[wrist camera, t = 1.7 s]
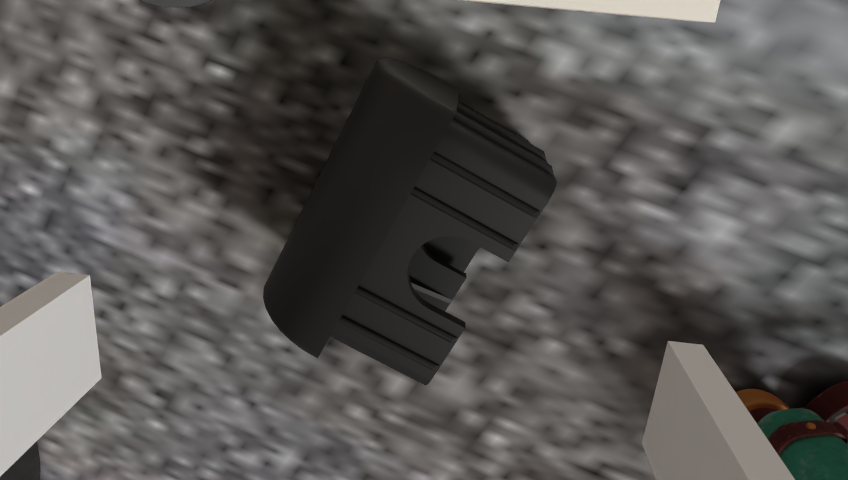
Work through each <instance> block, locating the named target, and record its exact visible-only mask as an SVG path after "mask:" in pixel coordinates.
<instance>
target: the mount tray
mask: <svg viewBox="0 0 848 480" xmlns="http://www.w3.org/2000/svg"><path fill="white" fill-rule="evenodd" d="M459 1H470V2H481V3H492V4H503V5H514V6H526V7H537V8H548V9H559V10H570V11H581V12H592V13H603V14H614V15H625V16H636V17H647V18H658V19H669V20H680V21H691V22H715V21H716V16H717V12H718V8H719V4H720V0H459Z"/></svg>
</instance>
